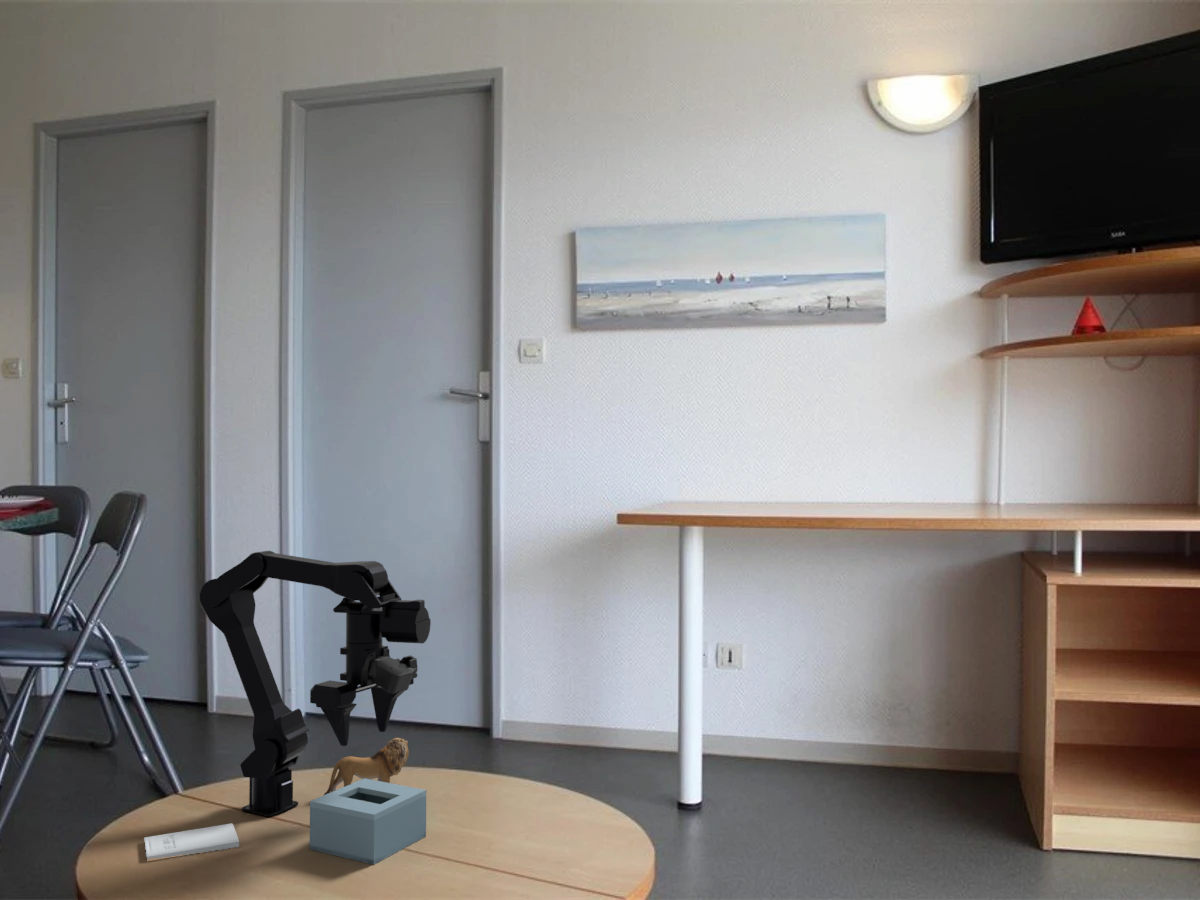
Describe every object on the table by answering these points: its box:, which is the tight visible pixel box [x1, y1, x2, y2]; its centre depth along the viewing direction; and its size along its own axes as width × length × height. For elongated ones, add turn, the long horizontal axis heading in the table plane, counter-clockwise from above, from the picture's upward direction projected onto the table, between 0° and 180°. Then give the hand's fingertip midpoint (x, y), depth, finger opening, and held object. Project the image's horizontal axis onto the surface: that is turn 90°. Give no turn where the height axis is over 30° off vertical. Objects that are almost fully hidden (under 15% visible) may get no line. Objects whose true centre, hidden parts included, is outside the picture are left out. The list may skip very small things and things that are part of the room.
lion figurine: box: [322, 737, 410, 796], centre depth 169 cm, size 15×5×9 cm, turn 116°
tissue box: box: [309, 778, 427, 865], centre depth 147 cm, size 12×12×7 cm
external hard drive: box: [143, 822, 240, 859], centre depth 146 cm, size 2×8×12 cm
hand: (363, 738), depth 158 cm, fingers open, 9 cm apart
